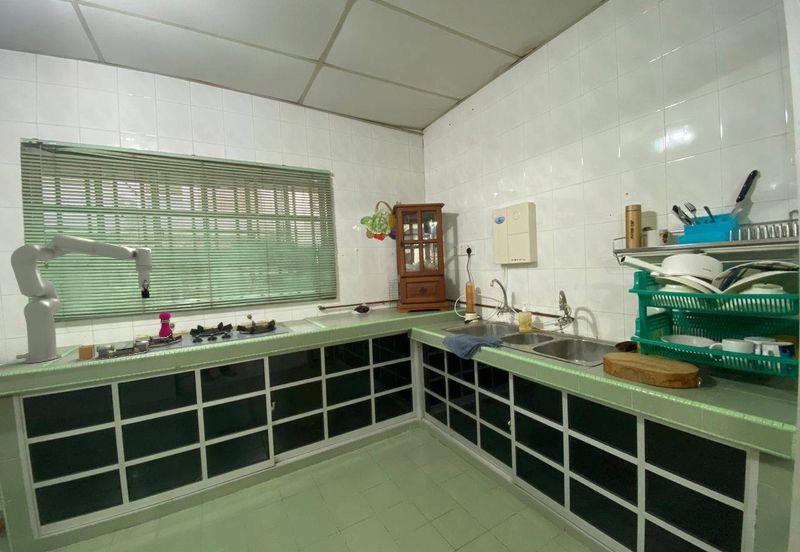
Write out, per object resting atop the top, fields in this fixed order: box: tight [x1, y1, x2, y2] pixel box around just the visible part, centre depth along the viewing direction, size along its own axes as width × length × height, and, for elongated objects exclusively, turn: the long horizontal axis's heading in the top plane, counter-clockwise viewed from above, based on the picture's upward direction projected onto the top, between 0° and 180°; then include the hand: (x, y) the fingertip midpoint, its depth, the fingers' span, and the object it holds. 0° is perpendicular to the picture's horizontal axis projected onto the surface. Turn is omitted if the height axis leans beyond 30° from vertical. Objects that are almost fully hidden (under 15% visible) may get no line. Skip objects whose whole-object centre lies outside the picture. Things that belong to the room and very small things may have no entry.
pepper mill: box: [158, 309, 174, 338], centre depth 195 cm, size 7×7×20 cm
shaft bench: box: [95, 340, 150, 360], centre depth 164 cm, size 21×10×6 cm, turn 124°
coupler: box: [78, 344, 96, 361], centre depth 158 cm, size 6×5×6 cm
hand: (145, 297), depth 180 cm, fingers open, 9 cm apart
